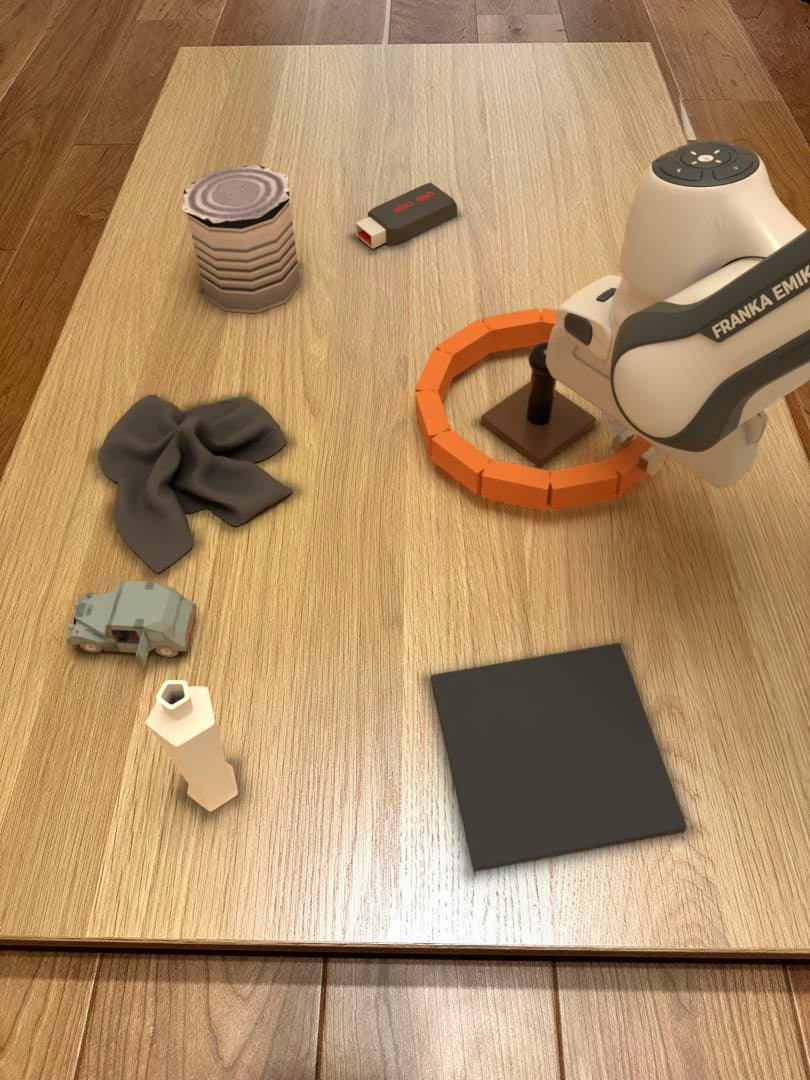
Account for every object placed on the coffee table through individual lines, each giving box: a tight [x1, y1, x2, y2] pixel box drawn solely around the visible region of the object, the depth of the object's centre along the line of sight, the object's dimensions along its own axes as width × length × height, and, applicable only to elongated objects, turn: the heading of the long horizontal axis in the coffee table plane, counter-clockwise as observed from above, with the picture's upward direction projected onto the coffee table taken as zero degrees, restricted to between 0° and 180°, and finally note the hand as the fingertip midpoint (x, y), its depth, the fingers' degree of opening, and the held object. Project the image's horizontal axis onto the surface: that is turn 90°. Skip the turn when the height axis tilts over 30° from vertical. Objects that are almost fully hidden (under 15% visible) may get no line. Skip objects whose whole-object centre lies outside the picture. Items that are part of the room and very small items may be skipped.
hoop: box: [414, 307, 654, 512], centre depth 95 cm, size 24×24×3 cm
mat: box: [430, 642, 688, 872], centre depth 76 cm, size 16×16×1 cm
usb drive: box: [354, 182, 458, 249], centre depth 116 cm, size 5×12×3 cm, turn 127°
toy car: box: [65, 580, 198, 668], centre depth 81 cm, size 6×10×5 cm, turn 86°
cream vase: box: [145, 679, 239, 812], centre depth 69 cm, size 5×4×15 cm
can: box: [181, 164, 301, 315], centre depth 107 cm, size 11×11×12 cm
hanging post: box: [480, 341, 597, 468], centre depth 93 cm, size 8×8×10 cm
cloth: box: [97, 394, 293, 574], centre depth 92 cm, size 22×19×6 cm
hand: (633, 457), depth 89 cm, fingers closed on hoop, 2 cm apart
